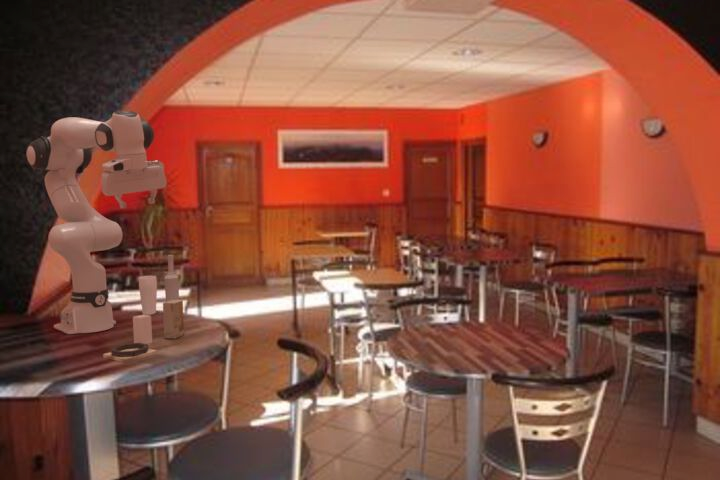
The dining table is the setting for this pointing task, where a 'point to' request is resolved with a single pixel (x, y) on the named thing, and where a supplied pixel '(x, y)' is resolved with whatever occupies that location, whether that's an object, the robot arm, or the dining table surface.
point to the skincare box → (173, 319)
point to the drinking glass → (148, 294)
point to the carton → (142, 329)
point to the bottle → (171, 282)
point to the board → (128, 359)
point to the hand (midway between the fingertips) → (137, 205)
